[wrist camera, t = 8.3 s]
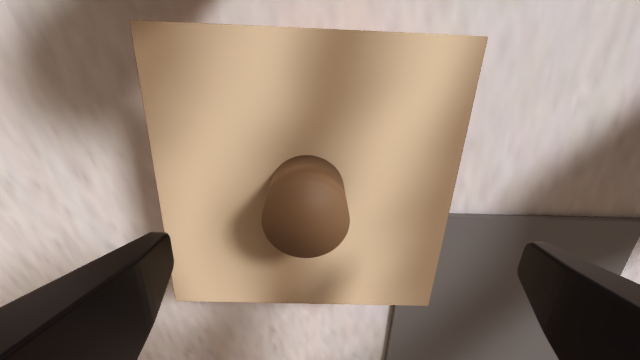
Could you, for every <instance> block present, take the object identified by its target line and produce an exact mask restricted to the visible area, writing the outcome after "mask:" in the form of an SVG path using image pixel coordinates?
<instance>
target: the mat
mask: <svg viewBox="0 0 640 360" xmlns="http://www.w3.org/2000/svg"><path fill="white" fill-rule="evenodd" d="M639 236H640V219H636V218H599V217H563V216H526V215H490V214H453V213H449V215H448V219H447V224H446V228H445V233H444V237H443V242H442V246H441V251H440V255H439V260H438V264H437V269H436V273H435V278H434V282H433V287H432V291H431V296H430V300H429V305H428V306H411V305H394V309H393V315H392V321H391V327H390V333H389V339H388V345H387V351H386V357H385V360H559V359H558V358H557V356H556V354H555V353H554V351H553V349H552V347H551V346H550V344H549V342H548V340H547V338H546V337H545V335H544V333H543V331H542V329H541V327H540V325H539V323H538V320H537V318H536V316H535V314H534V312H533V309H532V307H531V305H530V303H529V300H528V298H527V296H526V294H525V292H524V289H523V287H522V285H521V283H520V280H519V278H518V275H517V268H518V264H519V261H520V258H521V255H522V252H523V249H524V247H525V245H526V244H527V243H528V242H546V243H549V244H551V245H553V246H555V247H557V248H560V249H562V250H564V251H566V252H569V253H571V254H573V255H575V256H577V257H580V258H582V259H584V260H586V261H589V262H591V263H593V264H595V265H597V266H600V267H602V268H604V269H606V270H609V271H611V272H613V273H615V274H617V275H621V273H622V271H623V269H624V266H625V264H626V262H627V260H628V258H629V256H630V254H631V252H632V250H633V248H634V246H635V244H636V242H637V240H638V238H639Z"/></svg>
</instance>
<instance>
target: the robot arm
mask: <svg viewBox="0 0 640 360" xmlns="http://www.w3.org/2000/svg"><path fill="white" fill-rule="evenodd" d="M173 267H174V257H173V251H172V245H171V239H170V236H169V234H168V233H166V232H150V233H148V234H146V235H144V236H142V237H140V238H138V239H136V240H134V241H132V242H130V243H128V244H126V245H124V246H122V247H120V248H118V249H116V250H114V251H112V252H110V253H108V254H106V255H104V256H102V257H100V258H98V259H96V260H94V261H92V262H90V263H88V264H86V265H84V266H82V267H80V268H78V269H76V270H74V271H72V272H70V273H68V274H66V275H64V276H62V277H60V278H58V279H56V280H54V281H52V282H50V283H48V284H46V285H44V286H42V287H40V288H38V289H36V290H34V291H32V292H30V293H28V294H26V295H24V296H22V297H20V298H18V299H16V300H14V301H12V302H10V303H8V304H6V305H4V306H2V307H0V360H137V358H138V356H139V354H140V352H141V350H142V348H143V346H144V344H145V342H146V340H147V338H148V336H149V333H150V331H151V329H152V327H153V324H154V322H155V319H156V317H157V314H158V311H159V308H160V305H161V302H162V300H163V297H164V294H165V291H166V288H167V285H168V282H169V279H170V277H171V274H172V271H173ZM517 275H518V278H519V280H520V283H521V285H522V287H523V289H524V292H525V294H526V296H527V298H528V300H529V303H530V305H531V307H532V309H533V312H534V314H535V316H536V318H537V320H538V323H539V325H540V327H541V329H542V331H543V333H544V335H545V337H546V338H547V340H548V342H549V344H550V346H551V347H552V349H553V351H554V353H555V354H556V356H557V358H558V359H559V360H640V284H637V283H635V282H633V281H631V280H629V279H626V278H624V277H622V276H620V275H617V274H615V273H613V272H611V271H609V270H606V269H604V268H602V267H600V266H597V265H595V264H593V263H591V262H589V261H586V260H584V259H582V258H580V257H577V256H575V255H573V254H571V253H569V252H566V251H564V250H562V249H560V248H557V247H555V246H553V245H551V244H549V243H546V242H528V243H527V244H526V245H525V247H524V249H523V252H522V255H521V258H520V261H519V264H518V268H517Z"/></svg>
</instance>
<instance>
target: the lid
mask: <svg viewBox="0 0 640 360" xmlns="http://www.w3.org/2000/svg"><path fill="white" fill-rule="evenodd" d="M130 26H131V32H132V38H133V44H134V50H135V56H136V62H137V69H138V75H139V81H140V87H141V93H142V99H143V105H144V111H145V117H146V123H147V129H148V135H149V141H150V147H151V153H152V159H153V166H154V172H155V178H156V184H157V190H158V196H159V202H160V208H161V214H162V220H163V226H164V232H166V233H168V234H169V236H170V239H171V245H172V251H173V257H174V267H173V271H172V274H171V275H172V281H173V287H174V293H175V299H176V301H208V302H259V303H310V304H361V305H411V306H428V305H429V300H430V296H431V291H432V287H433V282H434V278H435V273H436V269H437V264H438V260H439V255H440V251H441V246H442V242H443V237H444V233H445V228H446V224H447V219H448V215H449V210H450V206H451V201H452V197H453V192H454V188H455V183H456V179H457V174H458V170H459V165H460V161H461V156H462V152H463V147H464V143H465V138H466V134H467V129H468V125H469V120H470V116H471V111H472V107H473V102H474V98H475V93H476V89H477V84H478V80H479V75H480V71H481V66H482V62H483V57H484V53H485V48H486V44H487V39H488V37H485V36H468V35H447V34H425V33H403V32H382V31H360V30H338V29H317V28H295V27H273V26H252V25H230V24H209V23H187V22H165V21H144V20H130Z"/></svg>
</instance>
